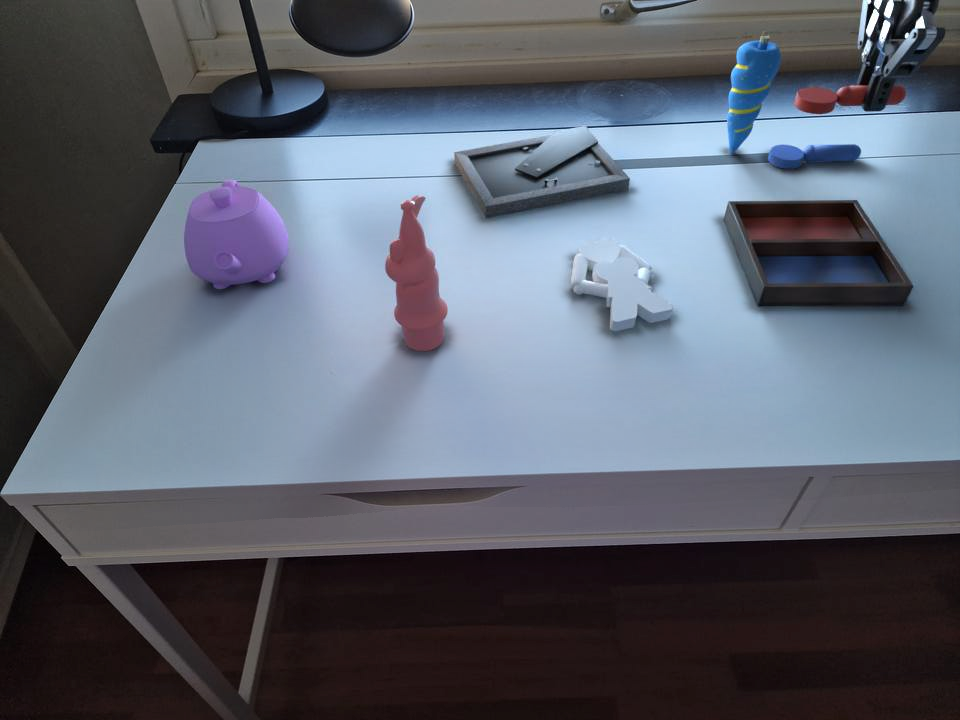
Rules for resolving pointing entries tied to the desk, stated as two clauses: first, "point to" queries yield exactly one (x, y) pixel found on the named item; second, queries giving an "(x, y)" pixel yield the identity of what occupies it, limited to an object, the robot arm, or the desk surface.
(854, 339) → the desk surface
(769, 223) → the cutlery tray
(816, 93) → the red spoon
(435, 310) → the figurine
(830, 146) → the blue spoon
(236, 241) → the teapot
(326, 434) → the desk surface
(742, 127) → the ornament
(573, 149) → the picture frame
